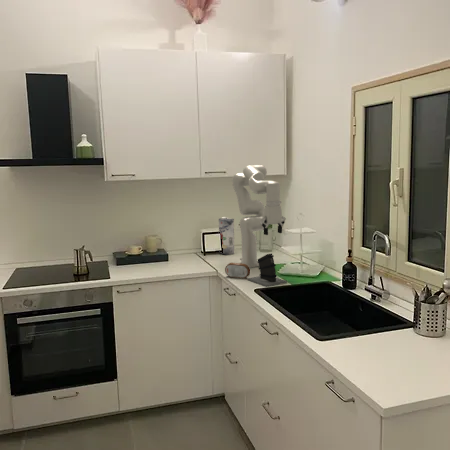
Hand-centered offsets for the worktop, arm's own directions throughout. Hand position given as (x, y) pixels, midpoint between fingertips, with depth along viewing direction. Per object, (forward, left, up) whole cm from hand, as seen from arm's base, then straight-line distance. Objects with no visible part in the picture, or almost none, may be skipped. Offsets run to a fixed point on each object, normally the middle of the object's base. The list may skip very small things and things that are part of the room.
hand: (272, 233), depth 269 cm
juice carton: (-75, +16, -26) cm, 81 cm away
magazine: (+4, -8, -25) cm, 26 cm away
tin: (-13, -16, -26) cm, 33 cm away
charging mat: (+4, -8, -26) cm, 27 cm away
